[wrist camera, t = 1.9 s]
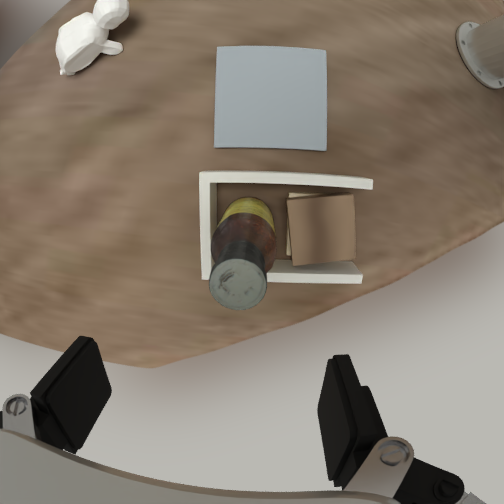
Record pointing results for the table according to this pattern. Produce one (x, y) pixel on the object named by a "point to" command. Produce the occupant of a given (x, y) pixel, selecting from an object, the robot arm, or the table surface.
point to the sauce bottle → (242, 254)
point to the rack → (281, 268)
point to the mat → (271, 98)
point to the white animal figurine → (90, 35)
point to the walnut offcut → (321, 228)
